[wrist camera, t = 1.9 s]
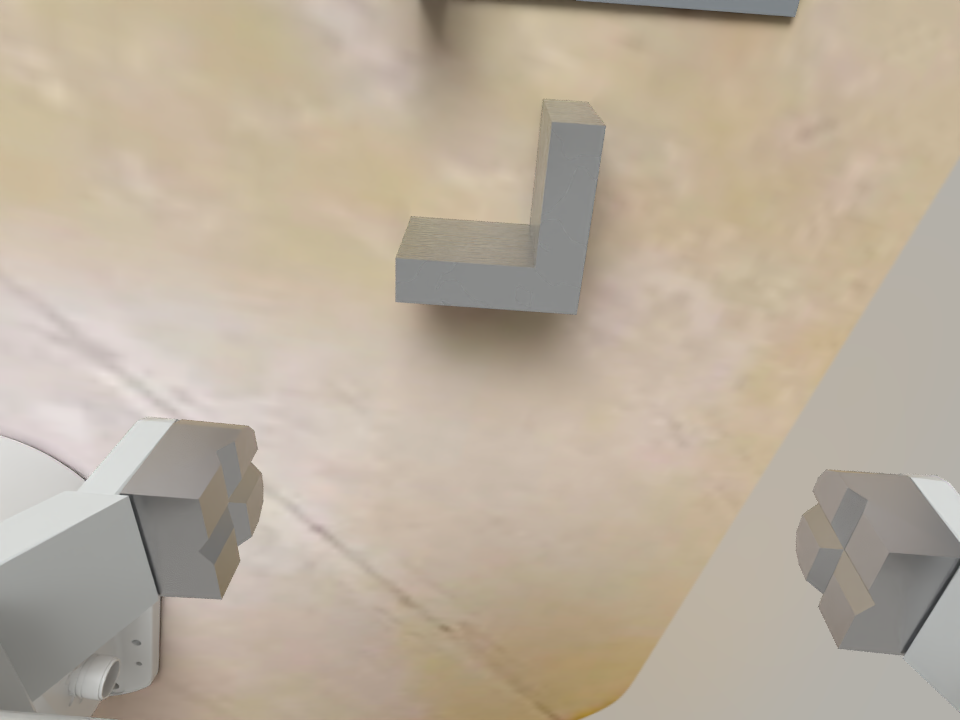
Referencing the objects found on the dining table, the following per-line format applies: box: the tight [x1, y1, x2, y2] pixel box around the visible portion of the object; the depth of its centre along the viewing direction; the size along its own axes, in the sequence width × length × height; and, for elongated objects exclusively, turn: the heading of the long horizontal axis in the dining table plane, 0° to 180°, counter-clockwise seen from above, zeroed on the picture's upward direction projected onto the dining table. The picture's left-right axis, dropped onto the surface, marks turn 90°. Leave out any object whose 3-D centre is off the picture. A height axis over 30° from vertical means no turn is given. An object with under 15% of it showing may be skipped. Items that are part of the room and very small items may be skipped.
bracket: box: [396, 99, 606, 315], centre depth 26 cm, size 7×7×5 cm
